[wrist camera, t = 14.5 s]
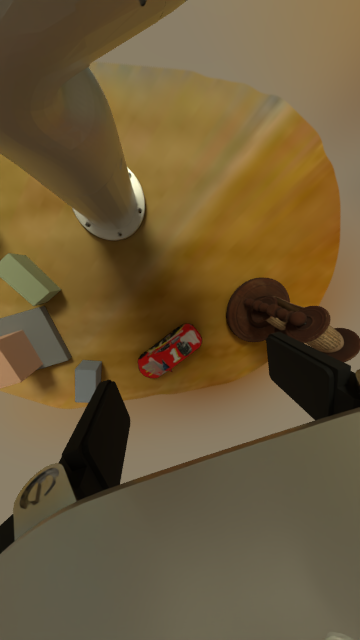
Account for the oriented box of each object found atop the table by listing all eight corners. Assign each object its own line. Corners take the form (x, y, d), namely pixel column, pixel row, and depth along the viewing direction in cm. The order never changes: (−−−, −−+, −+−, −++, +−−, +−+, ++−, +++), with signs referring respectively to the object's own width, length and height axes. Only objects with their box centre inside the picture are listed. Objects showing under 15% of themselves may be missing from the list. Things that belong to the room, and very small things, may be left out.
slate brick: (100, 390, 41) (95, 402, 37) (83, 389, 40) (75, 402, 36) (101, 360, 39) (95, 370, 35) (83, 359, 38) (75, 369, 34)
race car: (150, 377, 42) (149, 390, 37) (132, 358, 40) (129, 370, 35) (203, 339, 41) (210, 348, 36) (188, 318, 39) (193, 325, 34)
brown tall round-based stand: (293, 298, 41) (413, 321, 22) (257, 347, 43) (336, 407, 24) (248, 264, 37) (346, 256, 18) (211, 320, 40) (263, 365, 20)
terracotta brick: (2, 335, 33) (-31, 349, 27) (22, 329, 33) (-6, 341, 27) (24, 369, 35) (-2, 388, 29) (43, 364, 35) (21, 381, 30)
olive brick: (11, 269, 31) (-9, 268, 28) (26, 255, 31) (8, 253, 27) (47, 302, 34) (33, 305, 30) (61, 289, 34) (49, 291, 30)
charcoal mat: (-27, 326, 33) (-35, 328, 32) (44, 305, 34) (39, 307, 32) (8, 376, 37) (2, 380, 35) (71, 356, 37) (68, 360, 36)
